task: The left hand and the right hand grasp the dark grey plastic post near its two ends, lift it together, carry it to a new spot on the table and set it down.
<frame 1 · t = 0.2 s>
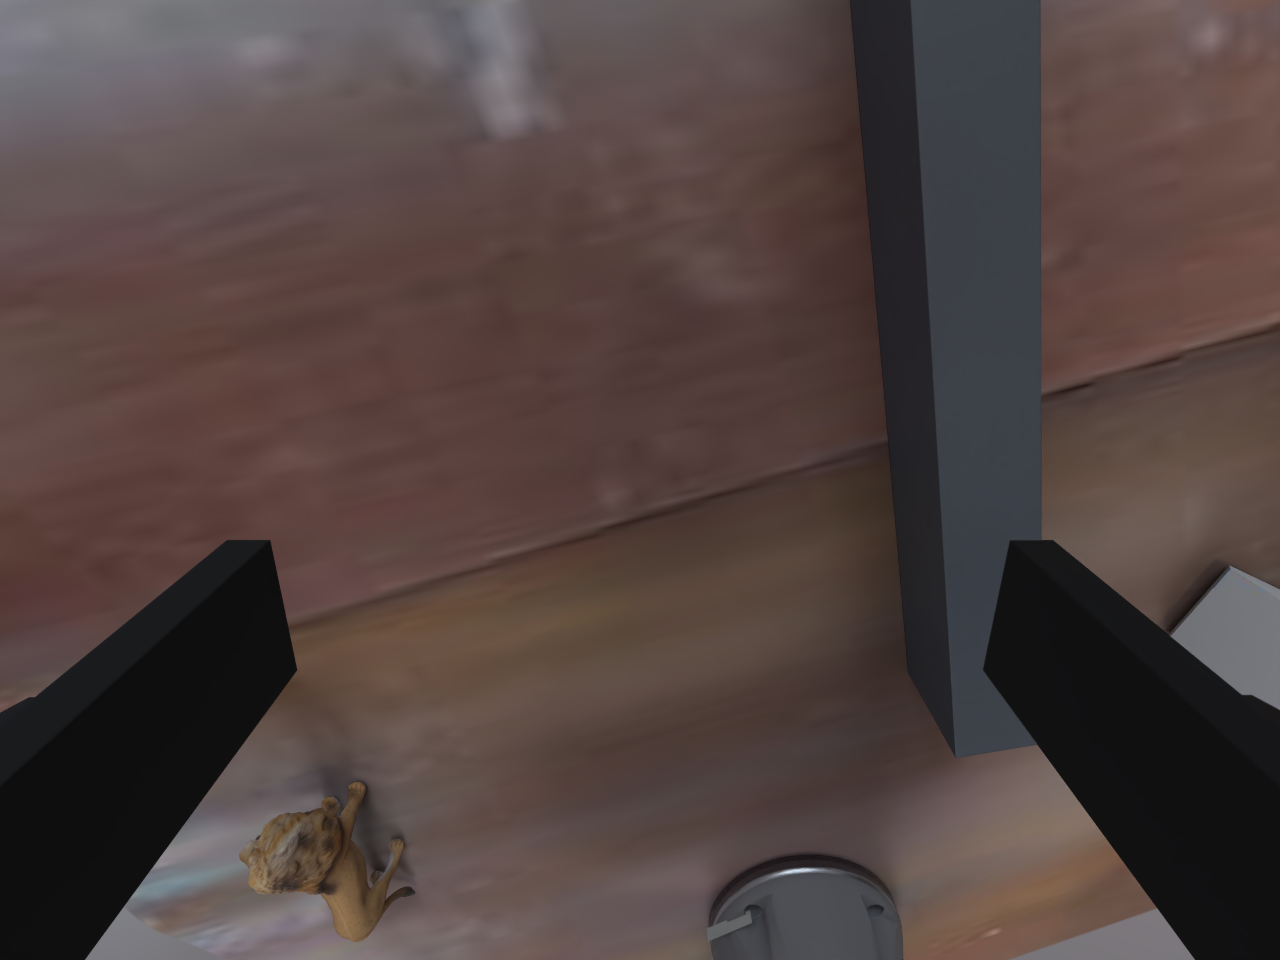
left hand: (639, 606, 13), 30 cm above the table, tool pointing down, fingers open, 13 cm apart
post: (907, 81, 36), on the table
lion figurine: (357, 819, 55), on the table
electronic device: (1248, 632, 48), on the table
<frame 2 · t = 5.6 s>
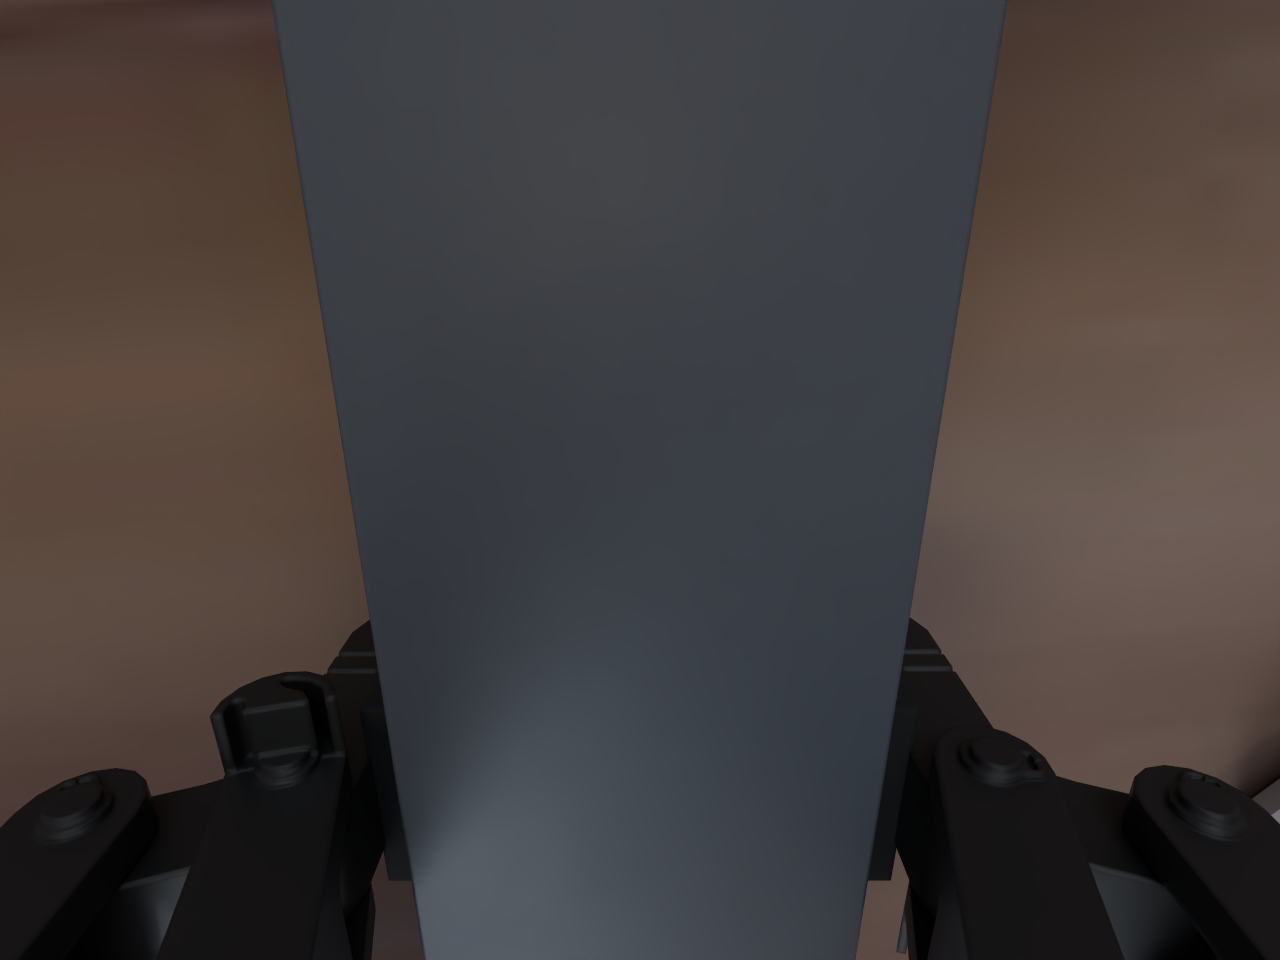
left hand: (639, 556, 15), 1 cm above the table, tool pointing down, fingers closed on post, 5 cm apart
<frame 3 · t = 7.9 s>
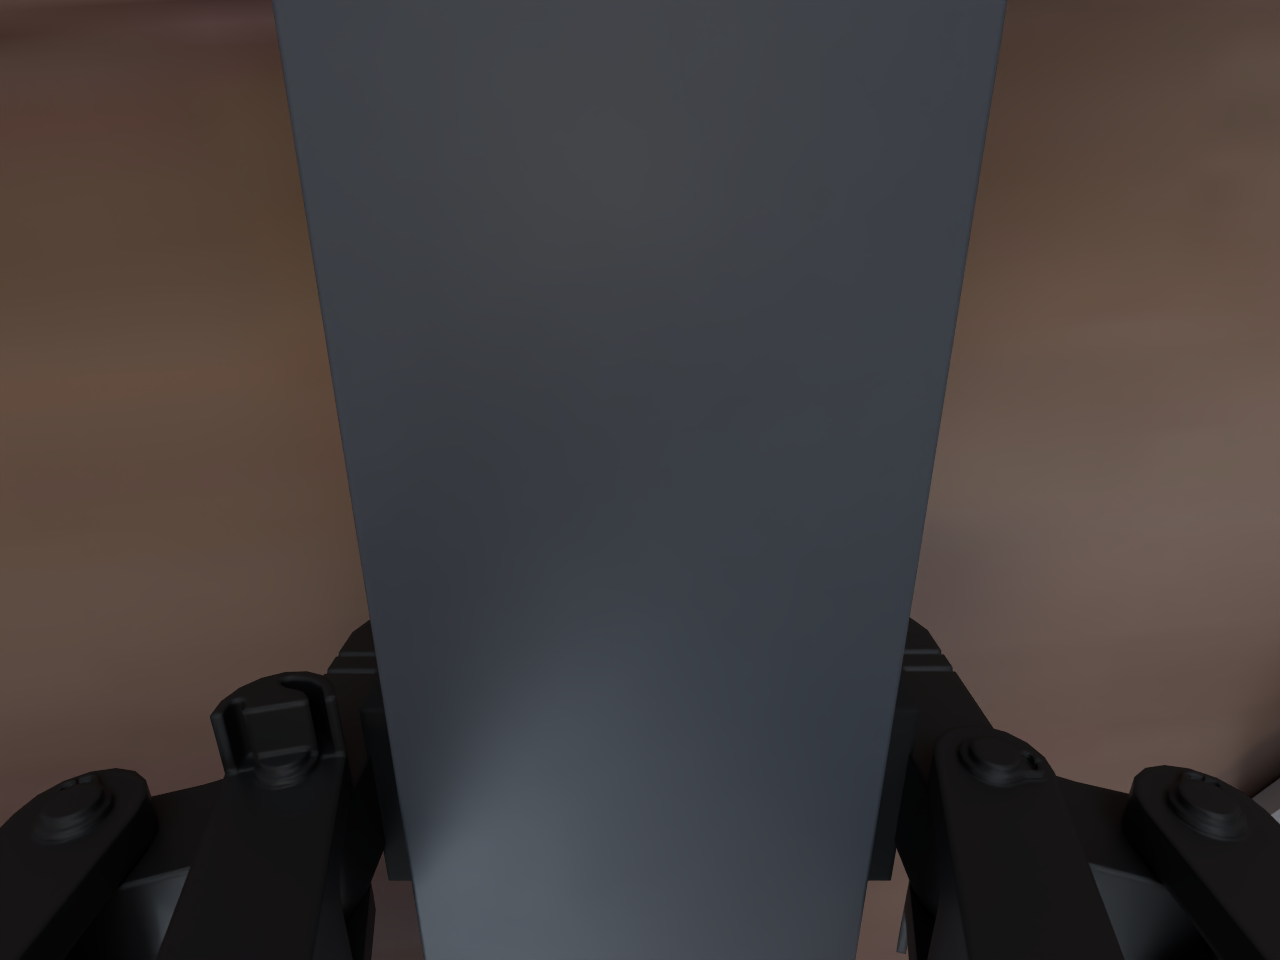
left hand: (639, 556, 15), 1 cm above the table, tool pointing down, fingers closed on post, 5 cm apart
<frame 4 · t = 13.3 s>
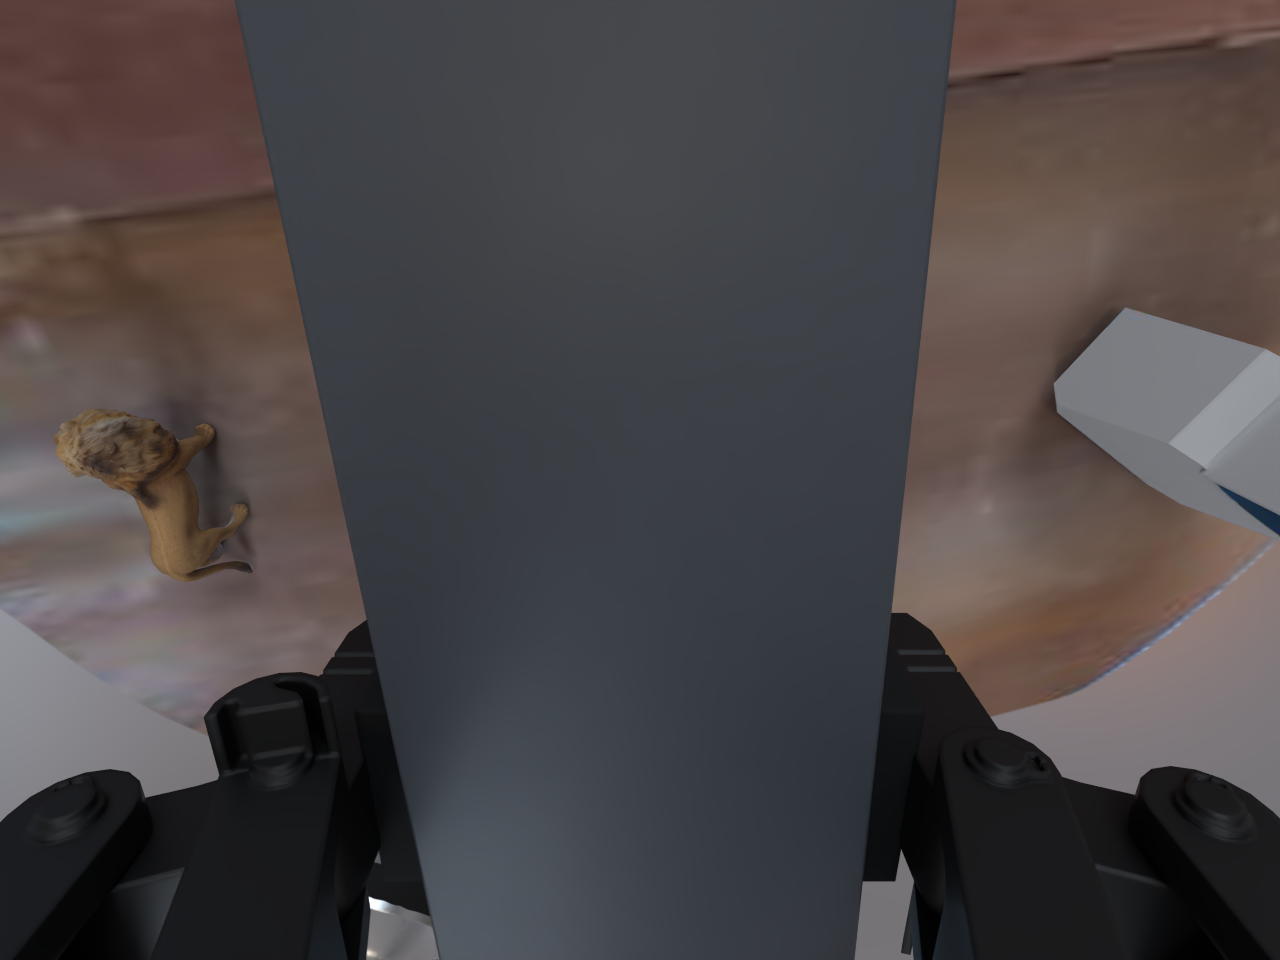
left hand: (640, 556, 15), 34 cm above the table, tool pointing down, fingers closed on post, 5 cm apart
lion figurine: (201, 474, 51), on the table
electronic device: (1133, 400, 49), on the table
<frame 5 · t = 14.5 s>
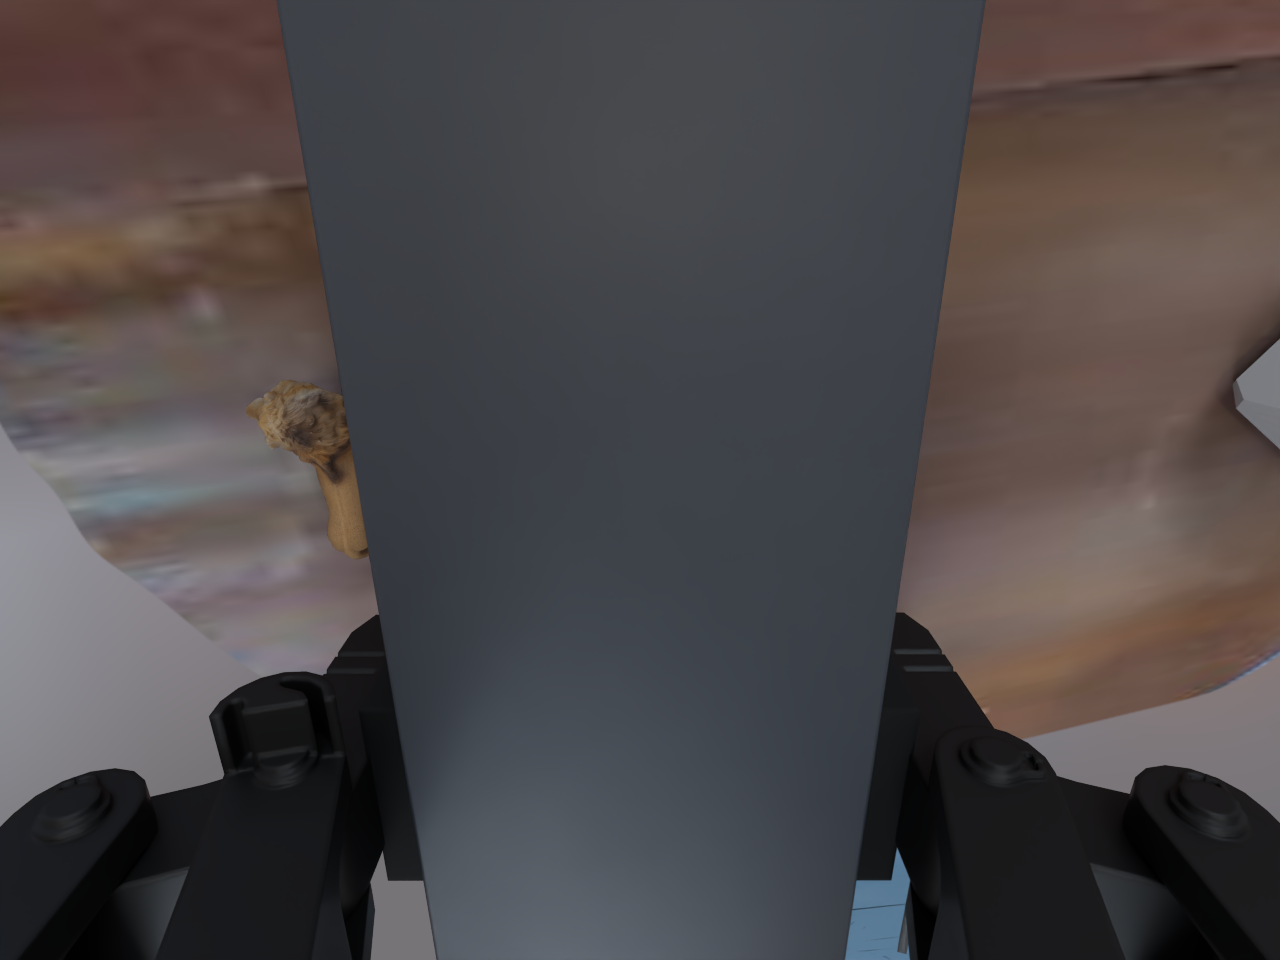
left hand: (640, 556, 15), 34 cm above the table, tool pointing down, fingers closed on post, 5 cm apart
lion figurine: (363, 452, 50), on the table
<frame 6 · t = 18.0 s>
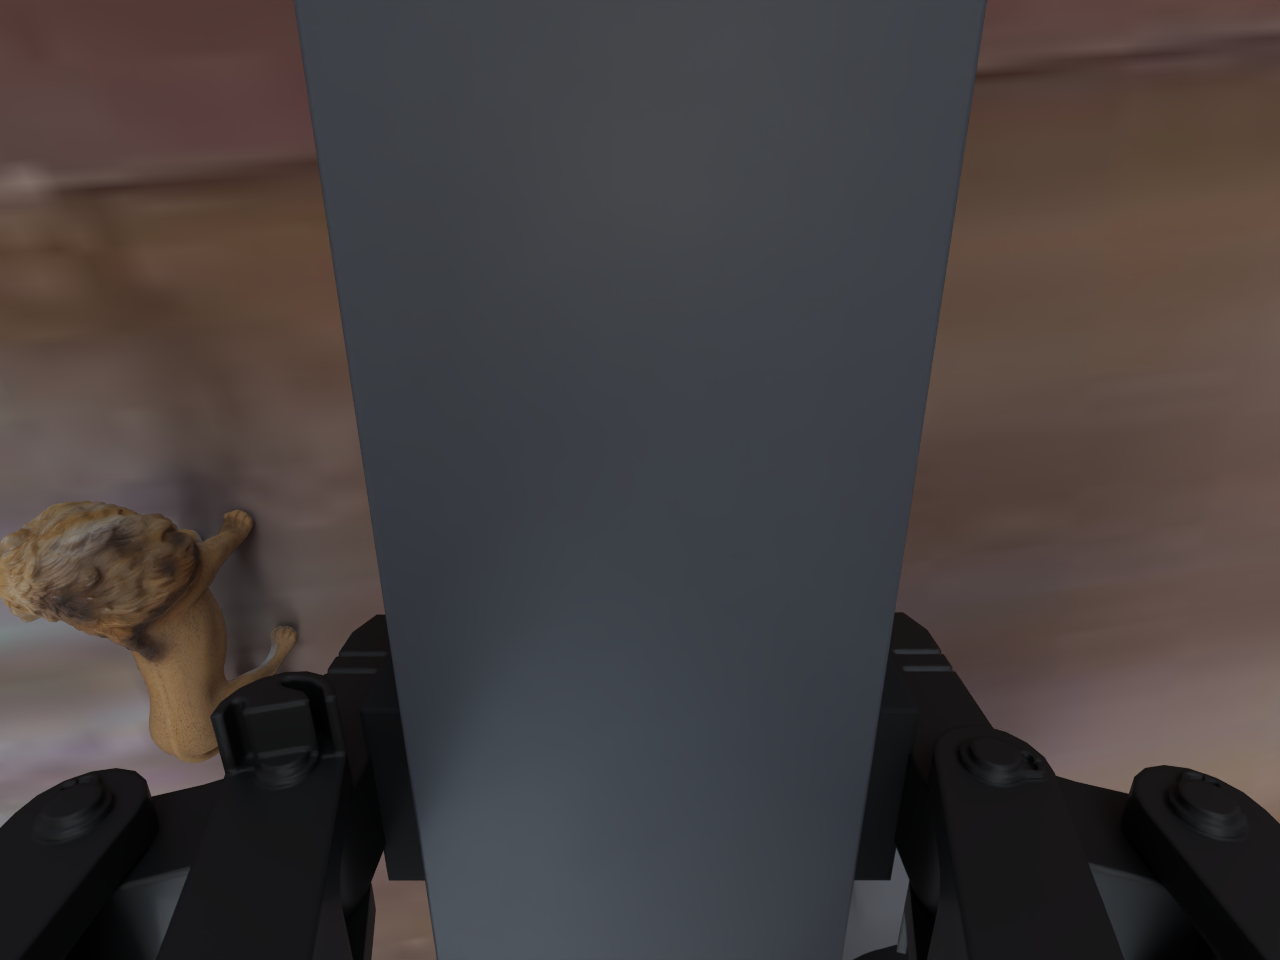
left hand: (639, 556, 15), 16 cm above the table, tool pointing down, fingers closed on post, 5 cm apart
lion figurine: (228, 582, 34), on the table
when the left hand's fingers open (2 cm above the table, at t = 21.1 s): post drops 1 cm, on the table.
when the right hand's fingers open (5 cm above the table, at t = 21.3 s): post stays where it is, on the table.
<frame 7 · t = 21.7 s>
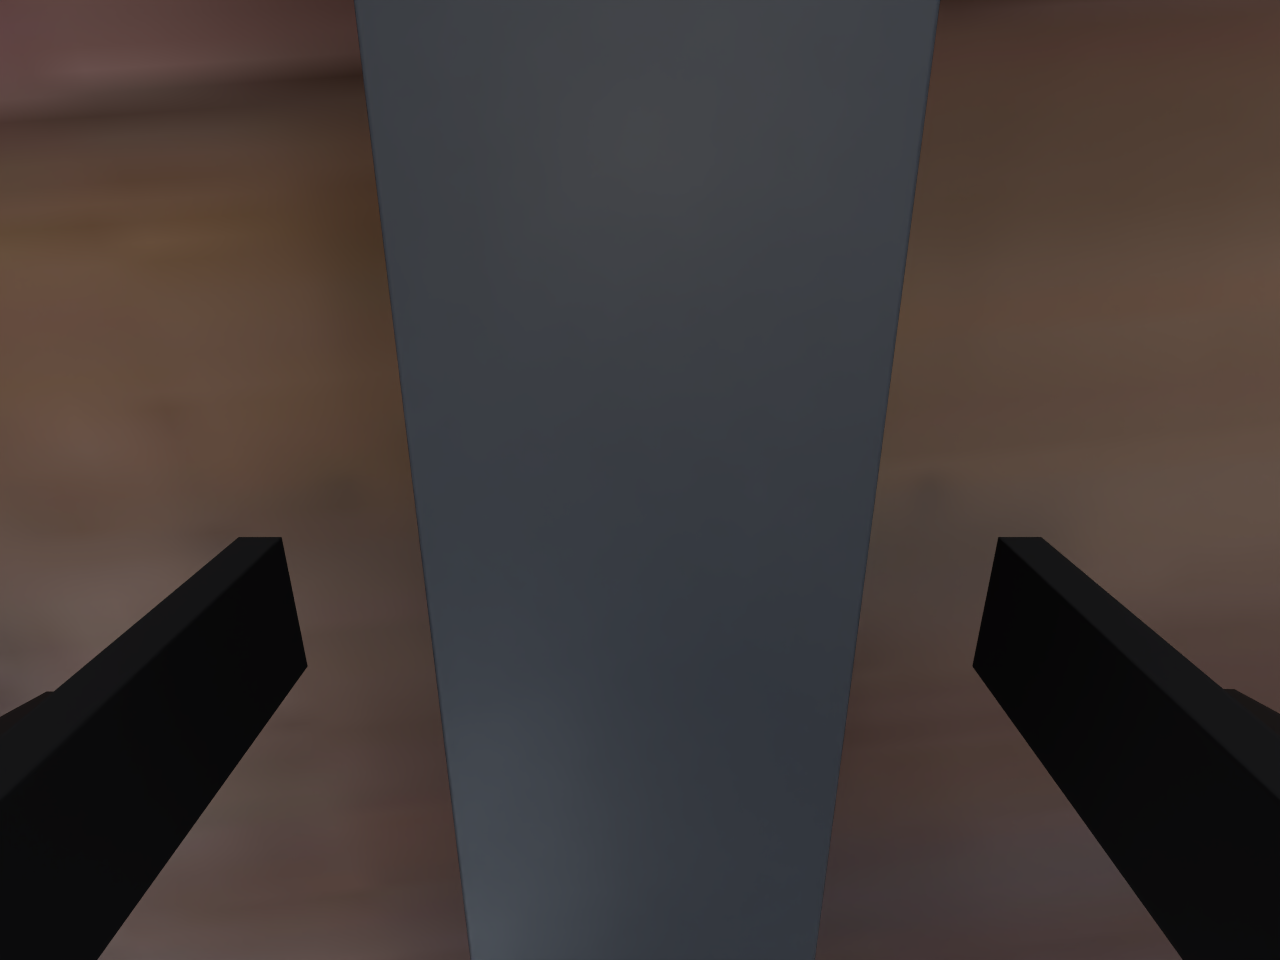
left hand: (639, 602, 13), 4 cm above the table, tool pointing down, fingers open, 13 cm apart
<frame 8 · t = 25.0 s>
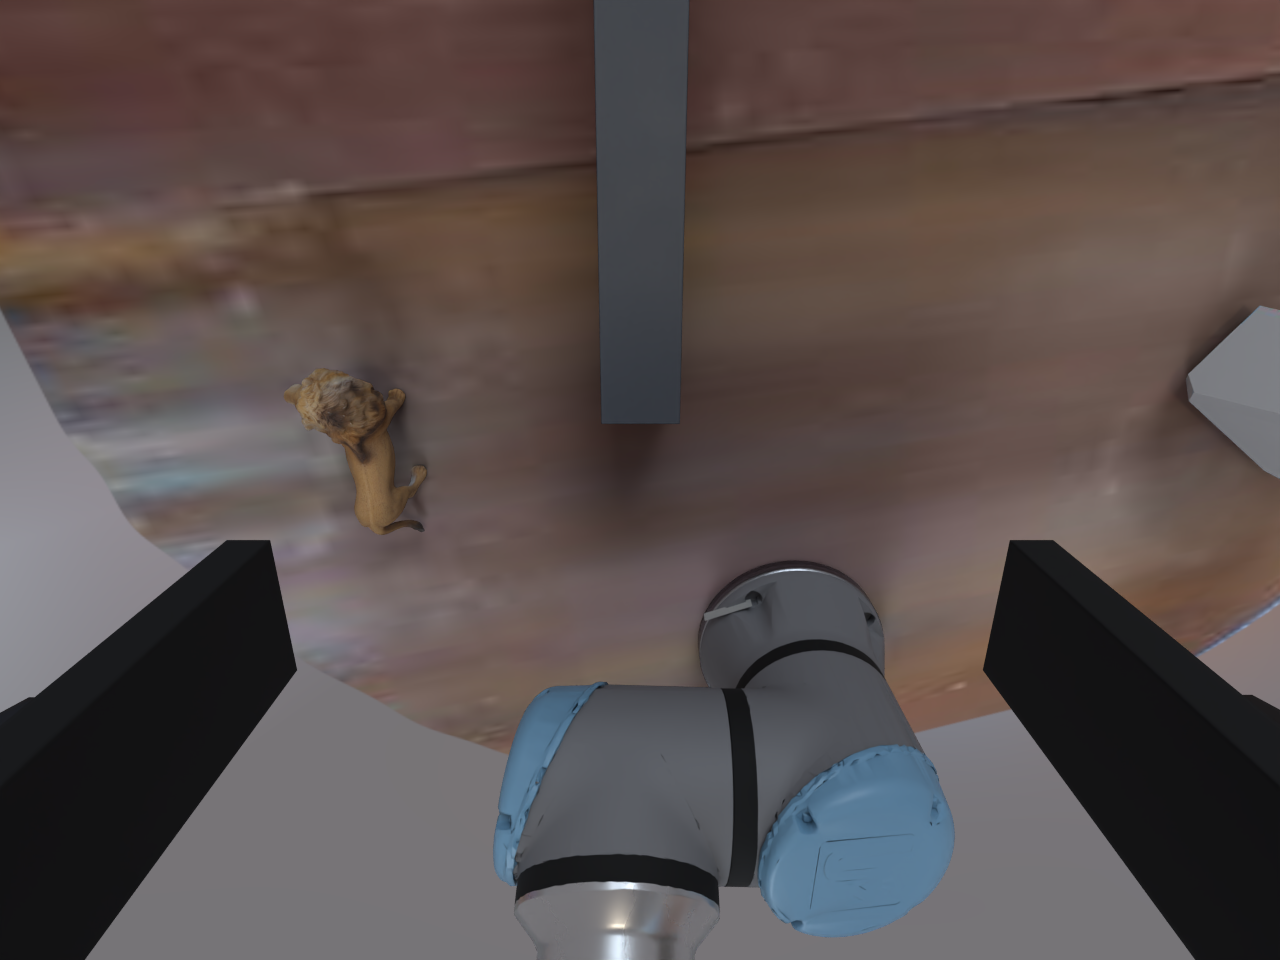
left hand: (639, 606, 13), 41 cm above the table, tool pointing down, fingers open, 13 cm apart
lion figurine: (385, 437, 54), on the table
electronic device: (1254, 392, 53), on the table
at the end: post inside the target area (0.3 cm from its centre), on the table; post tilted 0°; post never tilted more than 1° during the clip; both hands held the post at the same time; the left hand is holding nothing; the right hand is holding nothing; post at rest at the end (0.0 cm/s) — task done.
